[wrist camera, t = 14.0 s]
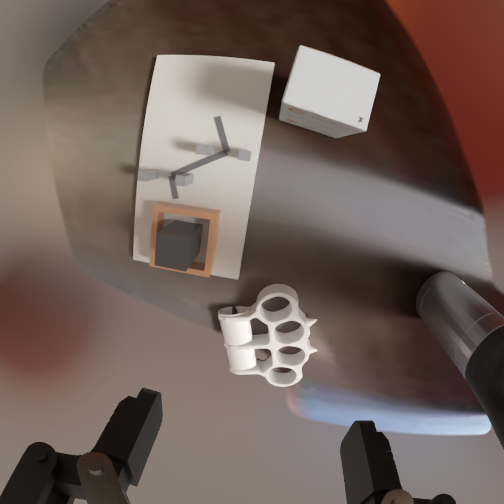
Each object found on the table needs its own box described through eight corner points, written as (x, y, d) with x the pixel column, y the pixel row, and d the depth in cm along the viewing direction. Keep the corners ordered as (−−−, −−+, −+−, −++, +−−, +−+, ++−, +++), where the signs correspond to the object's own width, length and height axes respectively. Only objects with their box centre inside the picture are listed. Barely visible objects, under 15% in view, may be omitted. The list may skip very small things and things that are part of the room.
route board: (274, 64, 33) (274, 53, 28) (238, 276, 43) (234, 292, 38) (159, 57, 33) (146, 46, 28) (135, 257, 43) (121, 269, 38)
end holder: (220, 210, 39) (217, 214, 36) (213, 270, 42) (209, 277, 39) (159, 201, 39) (153, 204, 37) (155, 259, 42) (149, 265, 39)
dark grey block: (202, 224, 40) (189, 239, 33) (199, 252, 41) (186, 271, 34) (174, 219, 40) (156, 233, 33) (172, 247, 41) (154, 265, 34)
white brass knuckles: (216, 287, 44) (315, 278, 43) (234, 376, 50) (317, 371, 48) (212, 297, 41) (318, 288, 40) (232, 389, 47) (319, 383, 45)
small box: (348, 96, 34) (383, 73, 21) (336, 139, 36) (367, 133, 23) (290, 77, 33) (299, 43, 21) (277, 120, 36) (280, 103, 23)
